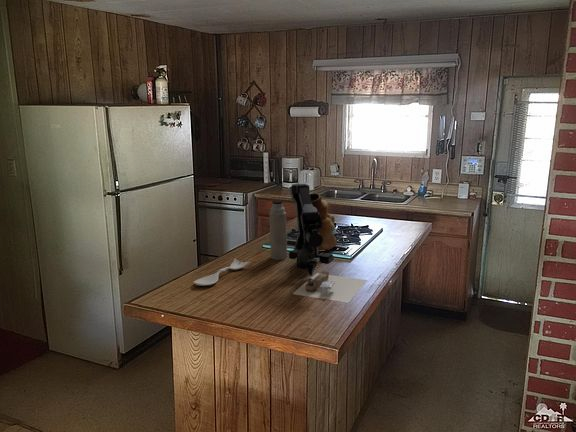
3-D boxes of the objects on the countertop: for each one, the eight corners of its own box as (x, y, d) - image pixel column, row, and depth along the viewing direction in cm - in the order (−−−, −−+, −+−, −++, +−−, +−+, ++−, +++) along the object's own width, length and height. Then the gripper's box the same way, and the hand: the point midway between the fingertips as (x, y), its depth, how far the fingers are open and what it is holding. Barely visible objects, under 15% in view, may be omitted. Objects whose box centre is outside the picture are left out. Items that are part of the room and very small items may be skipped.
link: (314, 292, 191) (314, 287, 190) (303, 290, 192) (303, 286, 192) (331, 276, 207) (331, 272, 206) (321, 275, 209) (321, 270, 208)
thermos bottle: (274, 254, 243) (272, 199, 236) (289, 255, 240) (288, 199, 234) (268, 259, 236) (266, 202, 229) (284, 260, 233) (282, 203, 226)
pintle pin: (307, 284, 192) (307, 280, 192) (309, 282, 194) (309, 278, 194) (312, 285, 191) (312, 281, 191) (315, 283, 193) (315, 279, 193)
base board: (292, 295, 191) (292, 293, 191) (316, 274, 213) (316, 273, 212) (348, 304, 181) (348, 302, 181) (367, 282, 203) (367, 280, 203)
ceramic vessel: (343, 246, 252) (343, 189, 245) (322, 258, 235) (322, 197, 228) (316, 242, 261) (315, 187, 254) (295, 253, 243) (293, 194, 236)
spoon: (251, 267, 225) (251, 260, 224) (205, 291, 199) (205, 283, 198) (235, 264, 230) (235, 257, 229) (189, 287, 203) (188, 279, 202)
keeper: (317, 294, 189) (317, 286, 188) (325, 287, 196) (324, 279, 195) (330, 296, 187) (330, 287, 186) (337, 289, 194) (337, 281, 193)
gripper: (281, 242, 201) (282, 278, 204) (322, 248, 192) (323, 285, 196) (294, 235, 210) (295, 270, 214) (334, 240, 201) (334, 276, 205)
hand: (311, 275), depth 207 cm, fingers closed
